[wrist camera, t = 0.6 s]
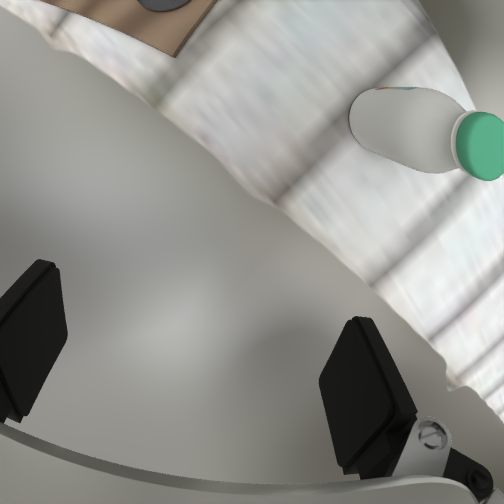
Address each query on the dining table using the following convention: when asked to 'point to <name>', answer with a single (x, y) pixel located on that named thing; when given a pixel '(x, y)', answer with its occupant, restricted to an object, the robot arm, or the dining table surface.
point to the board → (145, 18)
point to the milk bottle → (428, 131)
